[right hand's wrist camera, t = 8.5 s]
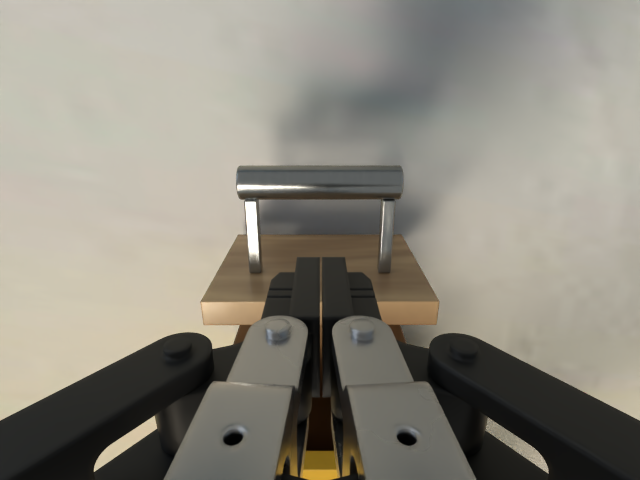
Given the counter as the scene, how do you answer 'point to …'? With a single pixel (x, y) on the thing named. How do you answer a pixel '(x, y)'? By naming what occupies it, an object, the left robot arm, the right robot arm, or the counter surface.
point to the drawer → (282, 251)
